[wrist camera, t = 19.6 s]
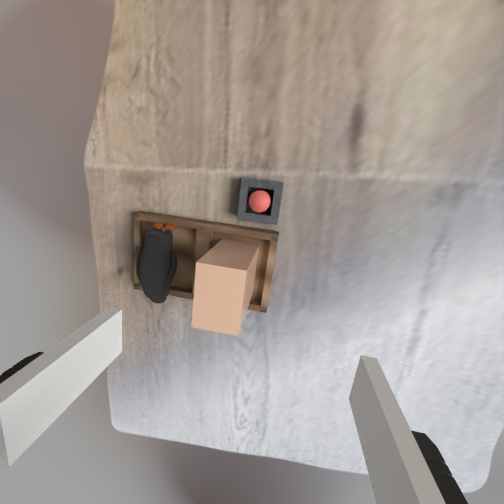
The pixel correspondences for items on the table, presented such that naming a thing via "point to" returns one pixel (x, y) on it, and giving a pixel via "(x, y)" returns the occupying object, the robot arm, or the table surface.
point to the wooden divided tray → (199, 243)
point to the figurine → (157, 262)
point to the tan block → (224, 286)
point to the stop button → (260, 200)
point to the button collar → (245, 195)
